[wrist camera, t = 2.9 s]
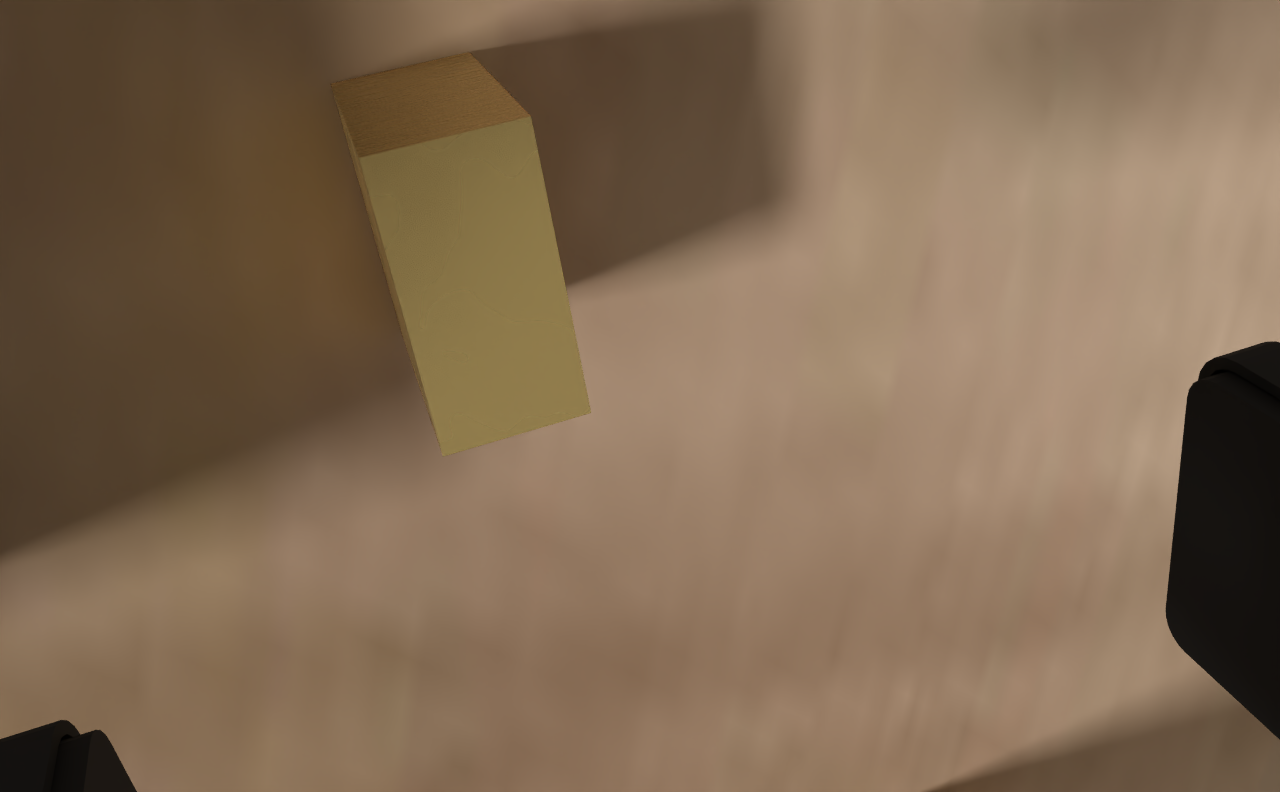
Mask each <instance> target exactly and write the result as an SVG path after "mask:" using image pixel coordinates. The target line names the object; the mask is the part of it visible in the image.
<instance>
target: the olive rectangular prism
mask: <svg viewBox="0 0 1280 792" xmlns="http://www.w3.org/2000/svg"><path fill="white" fill-rule="evenodd" d="M331 87H332V91H333V94H334V98H335V101H336V105H337V108H338V112H339V115H340V119H341V122H342V126H343V129H344V133H345V137H346V140H347V144H348V147H349V151H350V154H351V158H352V161H353V165H354V168H355V172H356V175H357V179H358V182H359V186H360V189H361V193H362V196H363V200H364V203H365V207H366V210H367V214H368V217H369V221H370V224H371V228H372V231H373V235H374V238H375V242H376V245H377V249H378V253H379V256H380V260H381V263H382V267H383V270H384V274H385V277H386V281H387V284H388V288H389V291H390V295H391V298H392V302H393V305H394V309H395V312H396V316H397V319H398V323H399V326H400V330H401V333H402V337H403V340H404V343H405V346H406V349H407V352H408V354H409V357H410V360H411V363H412V366H413V369H414V372H415V375H416V378H417V381H418V384H419V387H420V390H421V393H422V396H423V399H424V402H425V405H426V408H427V411H428V414H429V417H430V420H431V422H432V425H433V428H434V431H435V434H436V437H437V440H438V443H439V446H440V449H441V452H442V455H443V456H447V455H450V454H454V453H457V452H460V451H464V450H467V449H470V448H474V447H477V446H481V445H484V444H487V443H491V442H494V441H498V440H501V439H504V438H508V437H511V436H514V435H518V434H521V433H525V432H528V431H531V430H535V429H538V428H541V427H545V426H548V425H552V424H555V423H558V422H562V421H565V420H569V419H572V418H575V417H579V416H582V415H585V414H589V413H591V410H590V405H589V400H588V395H587V390H586V385H585V380H584V375H583V370H582V365H581V360H580V355H579V350H578V345H577V341H576V336H575V331H574V326H573V321H572V316H571V311H570V306H569V301H568V296H567V291H566V286H565V281H564V277H563V272H562V267H561V262H560V257H559V252H558V247H557V242H556V237H555V232H554V227H553V222H552V217H551V213H550V208H549V203H548V198H547V193H546V188H545V183H544V178H543V173H542V168H541V163H540V158H539V153H538V149H537V144H536V139H535V134H534V129H533V124H532V119H531V116H530V115H529V114H528V113H527V112H526V111H525V110H524V109H523V108H522V107H521V106H520V104H519V103H518V102H517V101H516V100H515V99H514V98H513V97H512V96H511V95H510V94H509V93H508V92H507V91H506V90H505V89H504V88H503V87H502V86H501V85H500V84H499V83H498V82H497V81H496V80H495V79H494V78H493V77H492V75H491V74H490V73H489V72H488V71H487V70H486V69H485V68H484V67H483V66H482V65H481V64H480V63H479V62H478V61H477V60H476V59H475V58H474V57H473V56H472V55H471V54H470V53H469V52H467V53H463V54H459V55H454V56H450V57H445V58H441V59H437V60H432V61H428V62H424V63H419V64H415V65H411V66H406V67H402V68H397V69H393V70H389V71H384V72H380V73H376V74H371V75H367V76H362V77H358V78H354V79H349V80H345V81H341V82H336V83H332V84H331Z"/></svg>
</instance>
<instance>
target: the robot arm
mask: <svg viewBox="0 0 1280 792" xmlns="http://www.w3.org/2000/svg"><path fill="white" fill-rule="evenodd" d="M1166 618H1167V622H1168V626H1169V629H1170V631H1171V633H1172V635H1173V637H1174V639H1175V640H1176V642H1177V643H1178V645H1179V646H1180V647H1181V648H1182V649H1183V650H1184V652H1186V653H1187V654H1188V655H1189V656H1190V657H1191V658H1192V659H1193V660H1194V661H1195V662H1196V663H1197V664H1199V665H1200V666H1201V667H1202V668H1203V669H1204V670H1205V671H1206V672H1207V673H1208V674H1209V675H1210V676H1212V677H1213V678H1214V679H1215V680H1216V681H1217V682H1218V683H1219V684H1220V685H1221V686H1222V687H1223V688H1224V689H1226V690H1227V691H1228V692H1229V693H1230V694H1231V695H1232V696H1233V697H1234V698H1235V699H1236V700H1237V701H1239V702H1240V703H1241V704H1242V705H1243V706H1244V707H1245V708H1246V709H1247V710H1248V711H1249V712H1250V713H1252V714H1253V715H1254V716H1255V717H1256V718H1257V719H1258V720H1259V721H1260V722H1261V723H1262V724H1263V725H1265V726H1266V727H1267V728H1268V729H1269V730H1270V731H1271V732H1272V733H1273V734H1274V735H1275V736H1276V737H1278V738H1279V739H1280V343H1279V342H1264V343H1260V344H1257V345H1254V346H1251V347H1248V348H1245V349H1241V350H1238V351H1235V352H1232V353H1229V354H1225V355H1222V356H1219V357H1216V358H1214V359H1212V360H1210V361H1208V362H1206V364H1205V365H1204V366H1203V368H1202V369H1201V371H1200V374H1199V378H1198V381H1197V382H1195V383H1193V385H1192V386H1191V388H1190V389H1189V392H1188V396H1187V404H1186V414H1185V424H1184V434H1183V444H1182V453H1181V463H1180V473H1179V483H1178V493H1177V503H1176V513H1175V522H1174V532H1173V542H1172V552H1171V562H1170V572H1169V582H1168V591H1167V601H1166ZM0 792H137V791H136V789H135V787H134V786H133V784H132V782H131V780H130V778H129V776H128V774H127V772H126V771H125V769H124V767H123V765H122V763H121V761H120V759H119V757H118V756H117V754H116V752H115V750H114V748H113V746H112V744H111V742H110V741H109V739H108V738H107V736H106V735H105V734H104V733H103V732H102V731H101V730H94V731H91V732H88V733H84V734H81V735H80V733H79V732H78V730H77V729H76V728H75V726H74V725H72V724H71V723H70V722H69V721H67V720H60V721H57V722H54V723H50V724H47V725H44V726H41V727H38V728H34V729H31V730H28V731H25V732H22V733H19V734H15V735H12V736H9V737H6V738H3V739H0Z"/></svg>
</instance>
